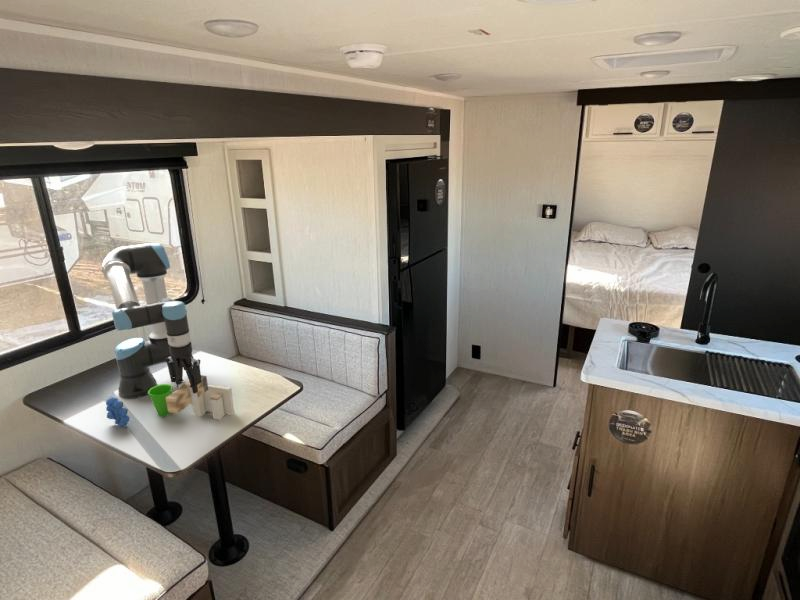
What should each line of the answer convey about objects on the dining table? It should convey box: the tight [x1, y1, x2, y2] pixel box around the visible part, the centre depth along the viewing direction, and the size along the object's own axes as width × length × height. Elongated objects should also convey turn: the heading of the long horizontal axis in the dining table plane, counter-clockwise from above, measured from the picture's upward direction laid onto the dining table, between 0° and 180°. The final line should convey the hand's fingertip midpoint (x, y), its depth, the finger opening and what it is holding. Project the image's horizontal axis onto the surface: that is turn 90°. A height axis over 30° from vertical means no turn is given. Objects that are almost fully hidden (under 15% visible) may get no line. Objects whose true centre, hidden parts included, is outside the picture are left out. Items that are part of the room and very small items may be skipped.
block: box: [166, 374, 208, 414], centre depth 175 cm, size 18×4×6 cm, turn 167°
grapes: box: [105, 396, 131, 427], centre depth 179 cm, size 12×7×12 cm, turn 63°
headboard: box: [191, 383, 235, 420], centre depth 187 cm, size 18×6×12 cm, turn 76°
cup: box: [147, 383, 174, 417], centre depth 187 cm, size 9×9×11 cm
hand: (189, 399), depth 176 cm, fingers closed on block, 4 cm apart
